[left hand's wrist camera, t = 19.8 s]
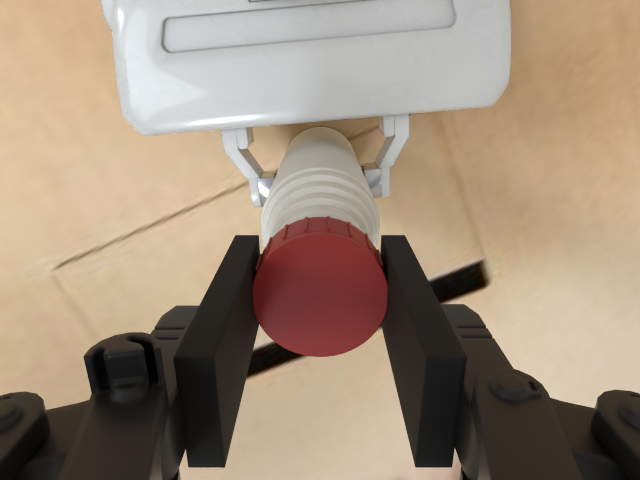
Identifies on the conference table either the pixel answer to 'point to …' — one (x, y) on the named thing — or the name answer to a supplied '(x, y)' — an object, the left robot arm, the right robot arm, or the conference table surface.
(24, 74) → the conference table surface
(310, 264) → the cap
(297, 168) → the bottle
